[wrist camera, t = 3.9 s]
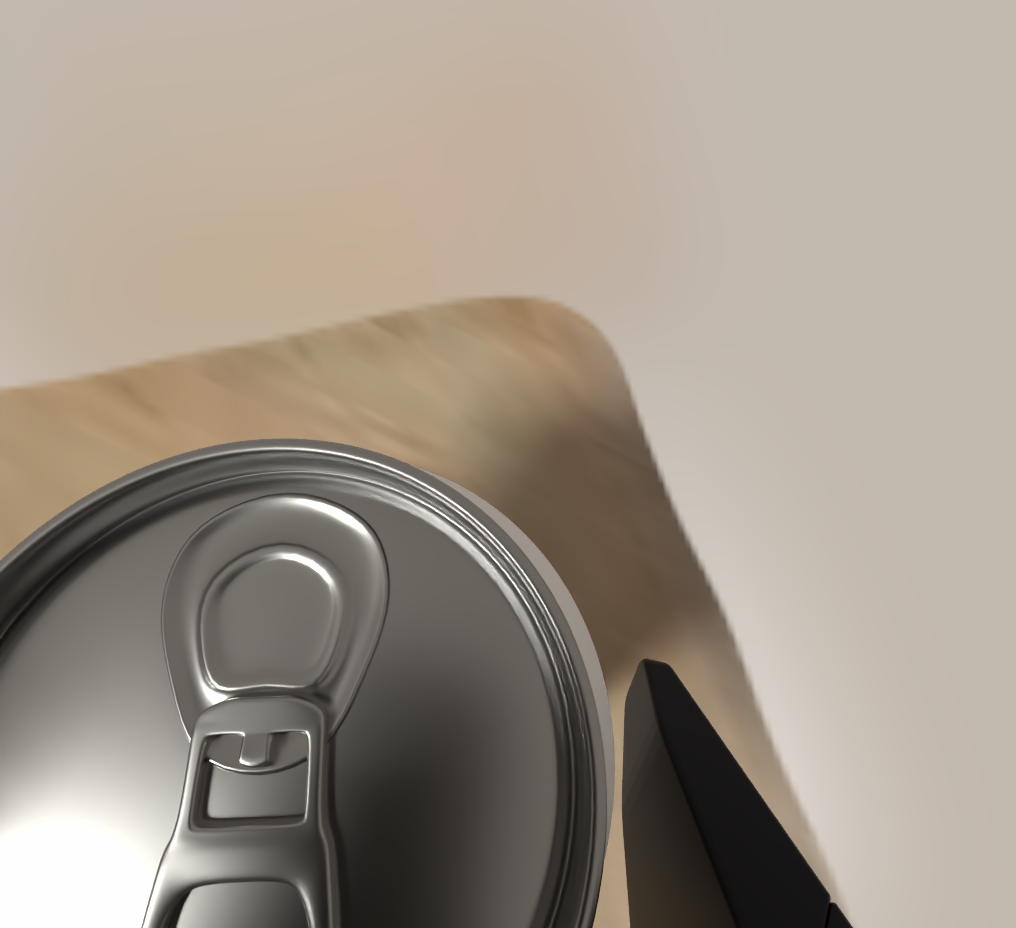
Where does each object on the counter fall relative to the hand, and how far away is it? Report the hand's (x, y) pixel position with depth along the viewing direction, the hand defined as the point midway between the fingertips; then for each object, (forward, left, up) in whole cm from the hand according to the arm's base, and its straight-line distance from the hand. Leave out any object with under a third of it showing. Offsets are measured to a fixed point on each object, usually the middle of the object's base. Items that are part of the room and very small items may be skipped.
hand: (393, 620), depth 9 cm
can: (-1, 0, -8) cm, 8 cm away
